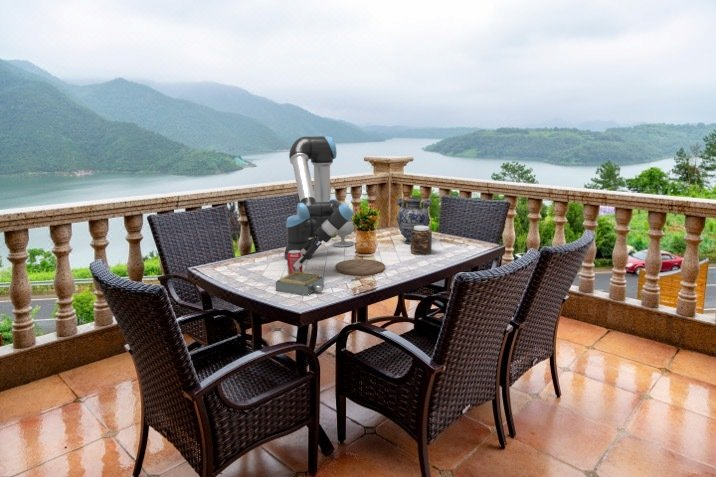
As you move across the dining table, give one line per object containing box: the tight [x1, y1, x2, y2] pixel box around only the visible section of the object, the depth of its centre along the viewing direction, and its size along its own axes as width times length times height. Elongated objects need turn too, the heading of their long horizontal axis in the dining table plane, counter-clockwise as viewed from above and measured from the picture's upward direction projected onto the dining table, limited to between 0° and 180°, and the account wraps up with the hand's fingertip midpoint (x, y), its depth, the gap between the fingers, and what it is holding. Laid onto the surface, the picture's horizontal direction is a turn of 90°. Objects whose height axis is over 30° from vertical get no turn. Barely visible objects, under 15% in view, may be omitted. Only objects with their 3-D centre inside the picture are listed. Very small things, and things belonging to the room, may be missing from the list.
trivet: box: [334, 258, 386, 277], centre depth 238 cm, size 25×25×2 cm
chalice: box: [332, 219, 355, 248], centre depth 287 cm, size 14×14×15 cm
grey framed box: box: [275, 271, 325, 296], centre depth 207 cm, size 20×14×5 cm
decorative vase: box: [396, 196, 433, 245], centre depth 290 cm, size 21×19×28 cm
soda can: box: [286, 250, 304, 275], centre depth 225 cm, size 7×7×12 cm
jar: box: [409, 225, 433, 256], centre depth 267 cm, size 12×12×15 cm
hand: (295, 263), depth 224 cm, fingers open, 13 cm apart
